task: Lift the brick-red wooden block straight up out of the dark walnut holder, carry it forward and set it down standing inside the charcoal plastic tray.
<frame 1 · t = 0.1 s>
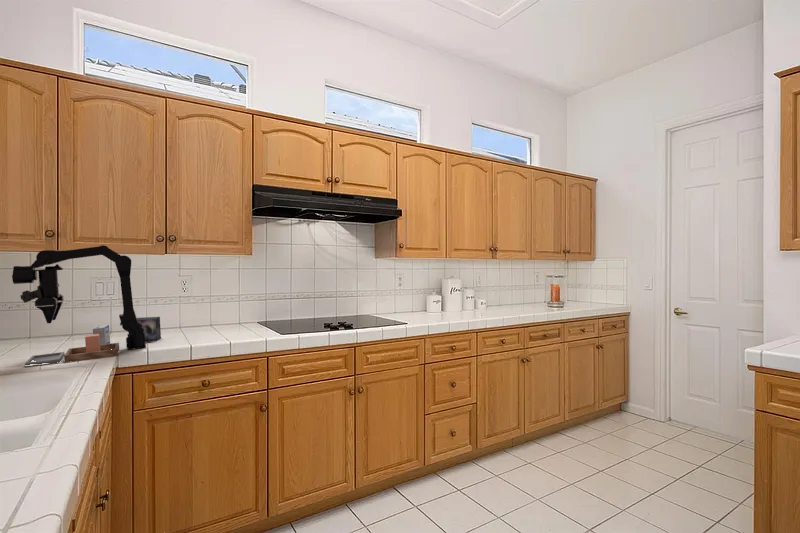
hand: (51, 321, 169), 15 cm above the table, tool pointing down, fingers open, 9 cm apart
charcoal tray: (45, 361, 165), on the table
brick block: (93, 355, 173), resting in walnut holder
walnut holder: (93, 354, 173), on the table
small box: (146, 340, 199), on the table
medicine box: (102, 346, 190), on the table
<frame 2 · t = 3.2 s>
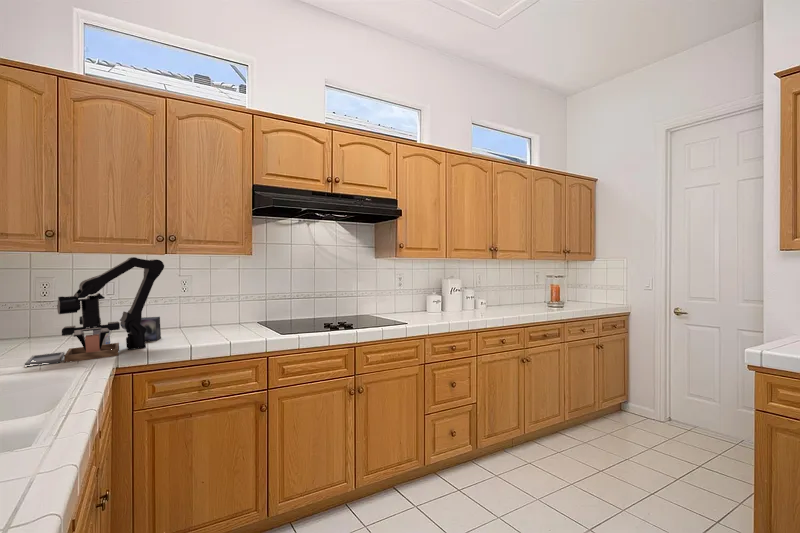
hand: (93, 349, 173), 2 cm above the table, tool pointing down, fingers closed on brick block, 4 cm apart
brick block: (93, 355, 173), resting in walnut holder, touching gripper
everything else where it was.
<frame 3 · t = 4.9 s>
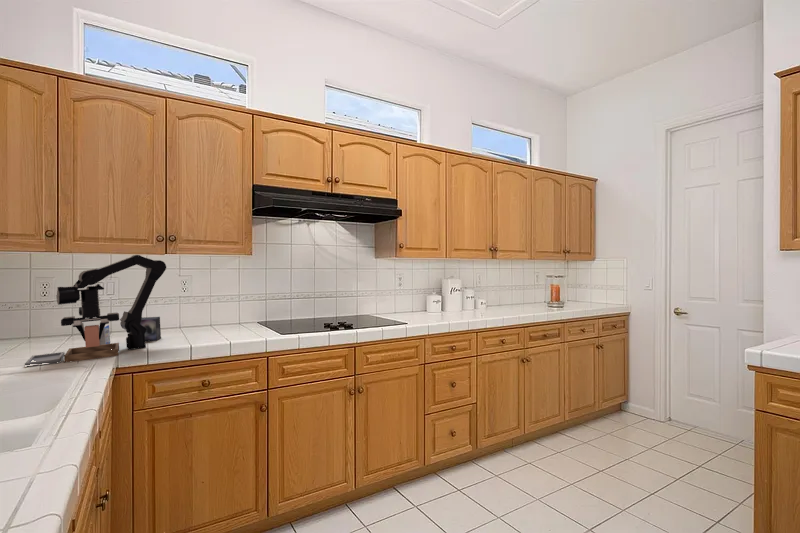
hand: (92, 340, 173), 6 cm above the table, tool pointing down, fingers closed on brick block, 4 cm apart
brick block: (92, 345, 173), point 4 cm above the table, touching gripper
everything else where it was.
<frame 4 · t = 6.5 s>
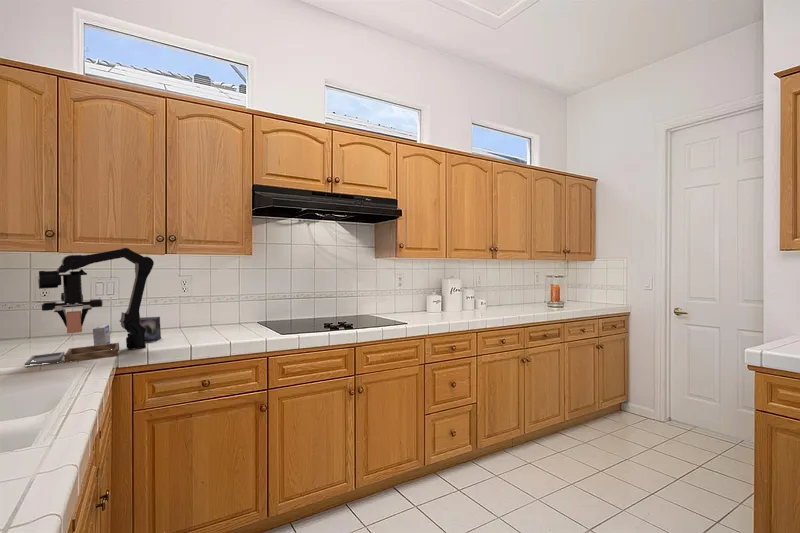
hand: (74, 326, 170), 12 cm above the table, tool pointing down, fingers closed on brick block, 4 cm apart
brick block: (74, 332, 170), point 10 cm above the table, touching gripper
everything else where it was.
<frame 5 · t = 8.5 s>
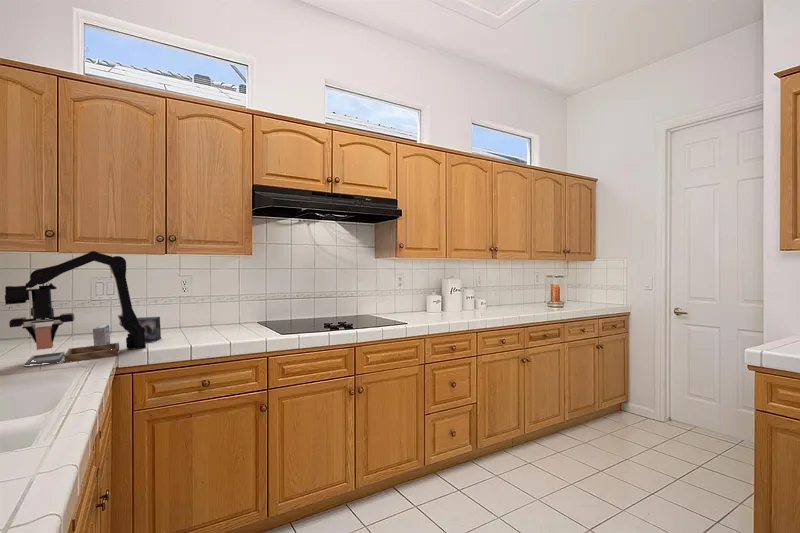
hand: (44, 342, 165), 7 cm above the table, tool pointing down, fingers closed on brick block, 4 cm apart
brick block: (45, 347, 165), point 5 cm above the table, touching gripper
everything else where it was.
when the fingers open (4 cm above the table, at t = 10.1 s): brick block stays where it is, resting on charcoal tray.
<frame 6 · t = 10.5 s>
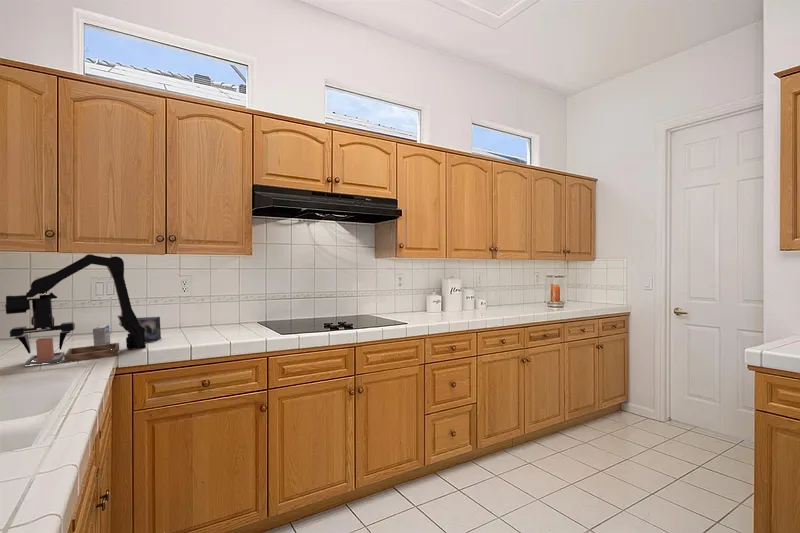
hand: (45, 351, 165), 4 cm above the table, tool pointing down, fingers open, 9 cm apart
brick block: (45, 359, 165), point 1 cm above the table, touching charcoal tray
everything else where it was.
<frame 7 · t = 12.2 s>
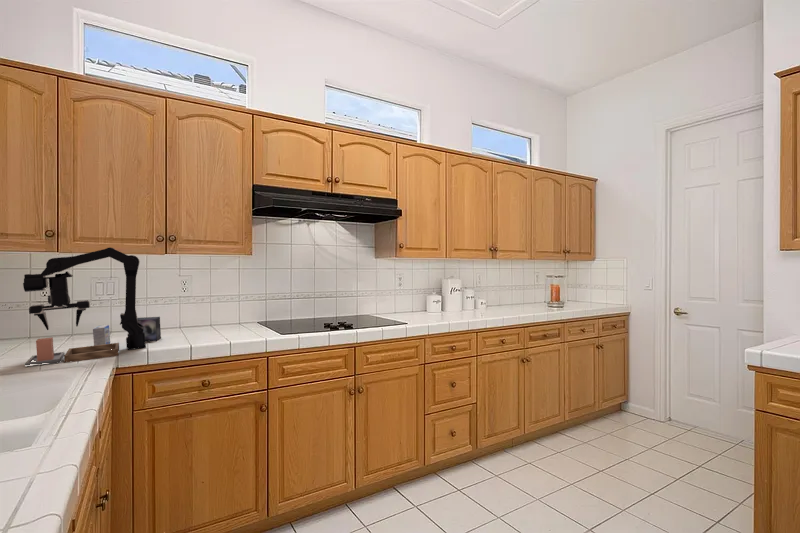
hand: (62, 328, 172), 11 cm above the table, tool pointing down, fingers open, 9 cm apart
nothing on the table moved.
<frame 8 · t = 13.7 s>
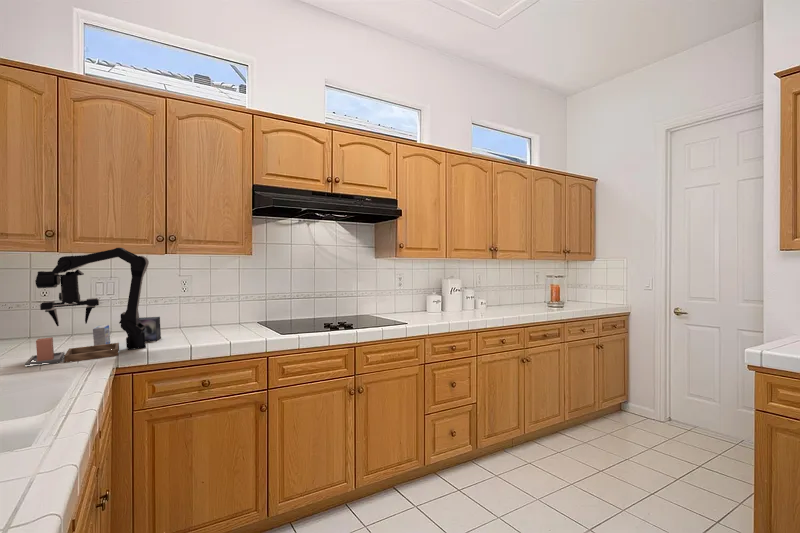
hand: (72, 324, 176), 12 cm above the table, tool pointing down, fingers open, 9 cm apart
nothing on the table moved.
at the end: brick block inside the target area on the charcoal tray (0.0 cm from its centre), point 0.6 cm above the charcoal tray's base; brick block tilted 0°; the gripper is holding nothing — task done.
